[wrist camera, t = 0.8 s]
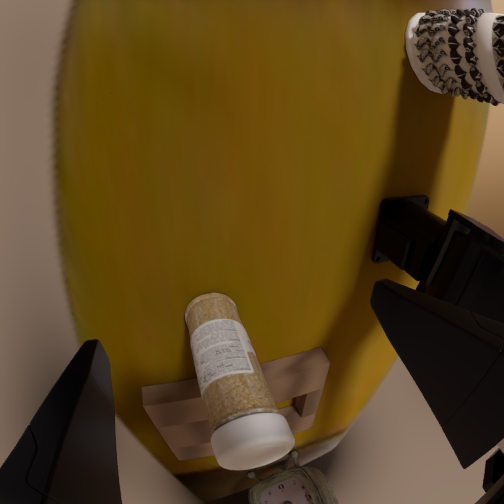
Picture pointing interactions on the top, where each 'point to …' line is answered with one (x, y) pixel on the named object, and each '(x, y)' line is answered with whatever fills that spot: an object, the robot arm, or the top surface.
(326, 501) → the tabletop clock
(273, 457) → the sprinkles bottle
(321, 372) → the wooden board
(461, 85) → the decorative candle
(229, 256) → the top surface
